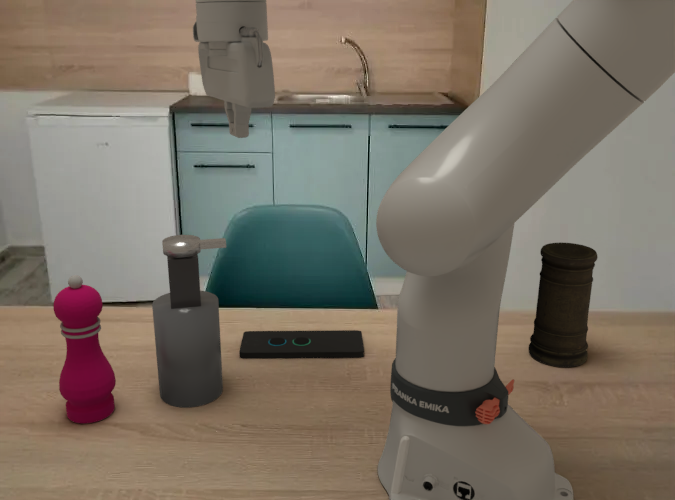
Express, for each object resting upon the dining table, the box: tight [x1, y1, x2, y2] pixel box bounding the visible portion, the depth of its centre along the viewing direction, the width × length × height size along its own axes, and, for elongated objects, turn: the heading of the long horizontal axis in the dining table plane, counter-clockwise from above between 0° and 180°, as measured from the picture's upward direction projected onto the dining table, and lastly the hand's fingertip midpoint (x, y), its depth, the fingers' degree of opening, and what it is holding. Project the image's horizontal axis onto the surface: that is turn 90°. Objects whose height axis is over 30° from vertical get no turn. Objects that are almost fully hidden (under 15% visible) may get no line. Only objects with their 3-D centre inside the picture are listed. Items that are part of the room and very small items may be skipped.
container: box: [528, 242, 599, 368], centre depth 110 cm, size 9×9×18 cm
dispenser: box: [151, 253, 224, 409], centre depth 97 cm, size 9×9×21 cm
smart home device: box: [238, 329, 365, 360], centre depth 114 cm, size 8×2×20 cm
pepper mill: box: [53, 274, 117, 424], centre depth 92 cm, size 7×7×20 cm
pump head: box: [161, 234, 227, 258], centre depth 95 cm, size 8×5×9 cm, turn 104°
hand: (239, 136), depth 92 cm, fingers closed
